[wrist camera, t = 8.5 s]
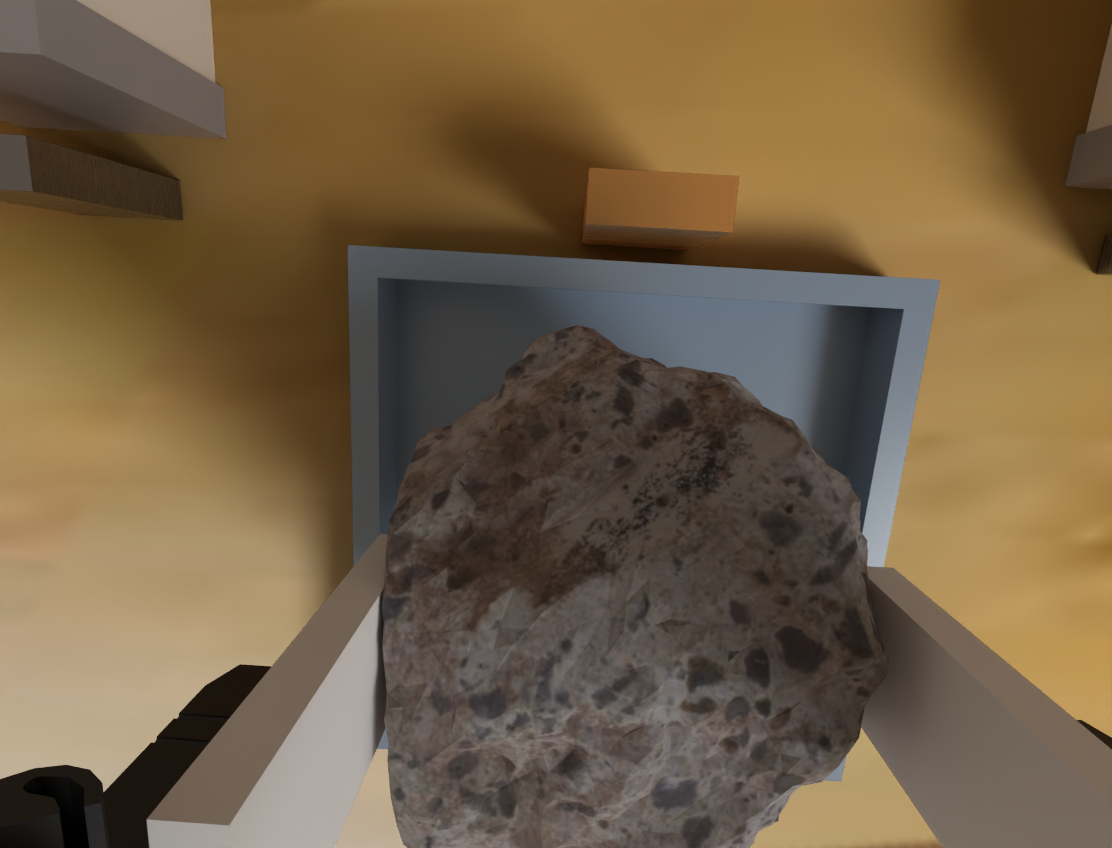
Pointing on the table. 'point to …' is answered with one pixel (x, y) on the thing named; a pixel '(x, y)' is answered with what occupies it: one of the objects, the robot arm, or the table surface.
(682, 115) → the table surface
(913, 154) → the table surface
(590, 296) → the tray
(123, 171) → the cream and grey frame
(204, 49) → the fuse
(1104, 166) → the fuse
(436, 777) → the rock
